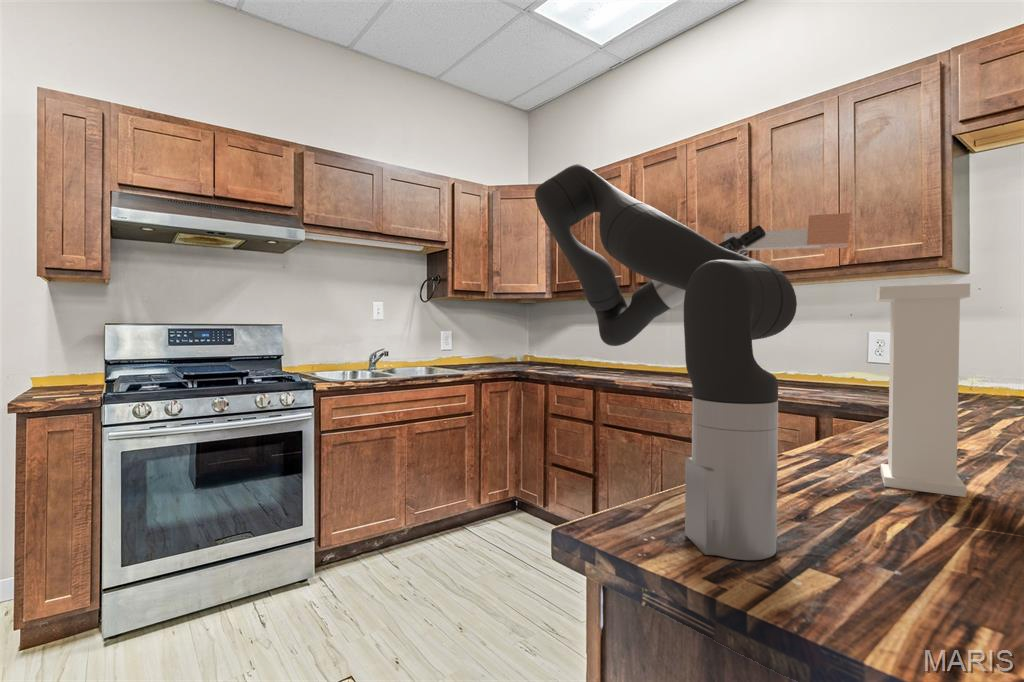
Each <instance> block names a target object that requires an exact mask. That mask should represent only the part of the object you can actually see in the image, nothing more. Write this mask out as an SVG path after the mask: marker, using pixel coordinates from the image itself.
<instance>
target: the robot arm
mask: <svg viewBox="0 0 1024 682" xmlns="http://www.w3.org/2000/svg"><path fill="white" fill-rule="evenodd" d="M534 198H535V203H536V206H537V209H538V211H539V213H540V215H541V217H542V219H543V221H544V222H545V224H546V226H547V227H548V230H549V231H550V233H551V234H552V236H553V238H554V241H556V243H557V245H558V247H559V248H560V249H561V252H562V253H563V255H564V257H565V258H566V259H567V261H568V263H569V264H570V266H571V268H572V270H573V271H574V273H575V275H576V277H577V279H578V281H579V283H580V286H581V289H582V291H583V293H584V295H585V298H586V300H587V302H588V305H589V306H590V307H591V308H593V309H594V311H595V314H596V315H595V316H596V319H597V324H598V331H599V336H600V339H601V340H602V342H603V343H604V344H606V345H607V346H611V347H618V346H623V345H626V344H627V343H629V342H631V341H632V340H633V339H635V337H637V336H638V335H640V333H641V332H642V331H643V330H644V329H646V327H648V325H649V324H651V322H652V321H653V320H654V319H655V318H657V317H659V316H661V315H662V314H664V313H666V312H668V311H669V310H671V309H672V308H675V307H677V306H679V305H681V304H683V331H684V332H683V333H684V354H685V366H686V372H687V374H688V378H689V380H690V383H691V389H692V391H691V392H692V404H691V405H692V408H691V409H692V412H691V413H692V414H691V415H692V417H691V419H692V420H691V421H692V422H691V423H692V424H691V425H692V426H691V457H688V456H687V457H686V458H685V471H684V472H685V480H684V481H685V485H684V486H685V487H684V488H685V489H684V492H685V497H684V499H685V500H684V502H685V503H684V507H685V508H684V514H685V515H684V516H685V517H684V535H685V536H686V537H688V539H689V540H690V541H691V542H692V543H693V544H694V545H695V547H697V549H699V550H700V552H701V553H703V555H705V556H719V557H723V558H725V559H726V558H727V559H734V560H741V561H760V560H765V559H769V558H771V557H774V555H775V554H776V553H777V537H778V530H777V527H778V525H777V523H778V522H777V521H778V517H777V516H778V514H777V513H778V450H779V449H778V446H779V445H778V443H779V441H778V439H779V438H778V437H779V435H778V434H779V433H778V432H779V431H778V429H779V401H778V400H779V382H778V378H777V377H776V376H775V375H774V374H773V373H771V372H770V371H767V370H766V369H764V368H762V367H761V366H760V365H759V364H758V362H757V361H756V359H755V357H754V351H753V350H754V349H753V341H755V340H756V341H757V340H761V339H767V338H770V337H774V336H775V335H777V334H779V333H781V332H783V331H784V330H785V329H786V328H788V326H790V324H791V323H792V322H793V320H794V318H795V316H796V312H797V305H798V304H797V303H798V302H797V295H796V291H795V289H794V286H793V284H792V283H791V281H790V280H789V279H788V277H787V276H786V275H785V273H783V272H782V271H781V270H779V268H777V267H775V266H773V265H771V264H769V263H765V262H762V261H760V260H757V259H754V258H751V257H748V256H747V255H748V254H749V252H750V251H751V250H747V251H742V250H744V249H745V248H746V245H747V246H749V245H751V244H752V243H754V242H756V241H757V240H759V239H760V238H762V237H764V236H765V232H764V231H765V230H764V229H763V227H762V226H761V225H756V226H755V227H753V228H751V229H750V230H748V231H746V232H747V233H745V234H743V235H742V236H741V237H740V236H738V237H731V238H730V239H728V240H726V241H724V240H723V241H722V242H721V243H718V244H717V243H714V242H713V241H711V240H710V239H708V238H707V237H704V236H703V235H701V234H700V233H698V232H697V231H695V230H693V229H692V228H690V227H688V226H687V225H685V224H683V223H681V222H679V221H677V220H676V219H674V218H672V217H671V216H669V215H667V214H666V213H664V212H663V211H660V210H659V209H657V208H655V207H653V206H651V205H649V204H647V203H645V202H643V201H640V200H638V199H637V198H634V197H632V196H631V195H629V194H628V193H625V192H624V191H622V190H621V189H620V188H617V187H616V186H615V185H613V184H611V183H610V182H608V181H607V180H606V179H605V178H603V177H602V176H600V174H597V172H595V171H593V169H591V168H589V167H587V166H586V165H583V164H580V163H579V164H578V163H577V164H573V165H570V166H568V167H566V168H564V169H563V170H561V171H560V172H558V173H557V174H555V175H554V176H552V177H550V178H548V179H547V180H545V181H543V182H541V184H539V185H538V186H537V187H536V188H535V191H534ZM595 213H599V237H600V240H601V244H602V246H603V248H604V250H605V251H606V252H607V254H609V256H611V257H612V258H613V259H615V260H616V261H617V262H619V263H620V264H621V265H623V266H625V267H626V268H627V269H628V270H631V271H632V272H634V273H636V274H637V275H640V276H643V277H644V278H647V279H650V281H648V282H647V283H645V284H643V285H642V286H640V287H639V288H637V289H635V291H634V292H633V293H632V295H631V299H630V304H629V305H627V302H626V300H625V298H624V296H623V294H622V292H621V289H620V286H619V282H618V280H617V277H616V275H615V271H614V269H613V267H612V265H611V264H610V263H609V261H608V260H607V259H606V257H604V256H602V255H601V254H600V253H598V252H596V251H594V250H593V249H591V248H589V247H588V246H586V245H584V244H583V243H581V242H580V241H579V240H578V239H577V238H576V237H575V236H574V234H573V232H572V230H571V228H572V227H573V226H574V225H576V224H578V223H579V222H581V221H582V220H584V219H586V218H587V217H589V216H591V215H592V214H595ZM731 245H732V246H733V249H732V248H731Z"/></svg>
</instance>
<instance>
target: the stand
mask: <svg viewBox="0 0 1024 682" xmlns="http://www.w3.org/2000/svg"><path fill="white" fill-rule="evenodd" d="M875 292H876V295H875V297H876V298H875V301H876V303H889V302H890V312H889V313H890V316H889V317H890V318H889V322H890V323H889V324H890V325H889V374H888V376H889V381H888V383H889V384H888V385H889V386H888V387H889V389H888V390H889V391H888V438H887V439H888V441H887V442H888V443H887V444H888V446H887V447H888V450H887V451H888V452H887V463H880V475H881V479H882V482H883V483H882V484H883V487H887V488H892V489H893V488H894V489H901V490H902V489H903V490H908V491H909V490H910V491H915V492H916V491H917V492H925V493H933V494H941V495H946V496H955V497H961V498H966V497H967V486H966V485H965V483H964V482H963V481H962V480H961V478H960V477H959V475H958V430H959V429H958V428H959V427H958V421H959V420H958V419H959V415H958V414H959V375H960V374H959V371H960V370H959V369H960V368H959V365H960V364H959V361H960V319H961V317H960V315H961V313H960V310H961V309H960V308H961V305H960V304H961V300H964V299H967V298H970V297H971V283H950V284H949V283H943V284H920V285H918V284H917V285H897V286H896V285H893V286H889V285H888V286H887V285H886V286H879V287H878V288H877V289H876V290H875Z"/></svg>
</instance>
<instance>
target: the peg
mask: <svg viewBox="0 0 1024 682" xmlns="http://www.w3.org/2000/svg"><path fill="white" fill-rule="evenodd" d="M850 217H851V212H843V213H842V212H841V213H827V214H814V215H813V214H812V215H811V214H810V215H808V220H807V221H808V223H807V224H808V225H807V228H797V229H782V230H764V232H765V236H764V237H762V238H760V239H759V240H757V241H756V242H754V243H752V244H751V245H749V246H747V245H746V248H745V249H744V250H742V251H747V250H750V251H765V250H766V251H767V250H769V251H770V250H771V251H772V250H773V251H774V250H790V249H791V250H794V249H797V250H798V249H808V250H823V249H847V248H849V234H850V233H849V232H850V231H849V230H850ZM747 232H748V231H744V232H742V231H740V232H727V233H726V232H725V233H723V242H724V241H726V240H728V239H730V238H731V237H738V236H740V237H741V236H742V235H743V234H745V233H747ZM731 248H732V249H733V246H732V245H731Z"/></svg>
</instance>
